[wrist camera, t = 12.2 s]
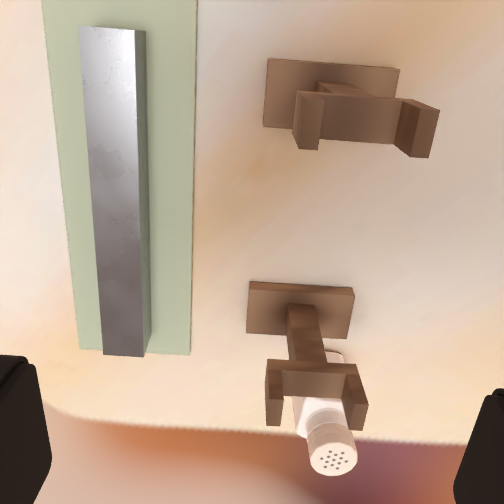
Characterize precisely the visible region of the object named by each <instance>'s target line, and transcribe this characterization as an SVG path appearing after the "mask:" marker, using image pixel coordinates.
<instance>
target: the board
mask: <svg viewBox="0 0 504 504" xmlns="http://www.w3.org/2000/svg"><path fill="white" fill-rule="evenodd" d="M41 3H42V12H43V21H44V30H45V39H46V48H47V57H48V66H49V75H50V84H51V94H52V103H53V112H54V121H55V130H56V139H57V148H58V157H59V166H60V175H61V185H62V194H63V203H64V212H65V221H66V230H67V239H68V248H69V257H70V266H71V276H72V285H73V294H74V303H75V312H76V321H77V330H78V339H79V348H80V349H87V350H103V345H102V332H101V319H100V306H99V293H98V280H97V267H96V254H95V241H94V228H93V215H92V202H91V189H90V176H89V163H88V150H87V137H86V124H85V111H84V98H83V85H82V72H81V59H80V46H79V33H78V26H95V27H107V28H119V29H130V30H142V31H146V66H147V117H148V168H149V219H150V270H151V320H152V334H151V337H150V340H149V343H148V346H147V349H146V352H145V353H155V354H172V355H190V345H191V292H192V240H193V188H194V136H195V84H196V31H197V0H41Z"/></svg>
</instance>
